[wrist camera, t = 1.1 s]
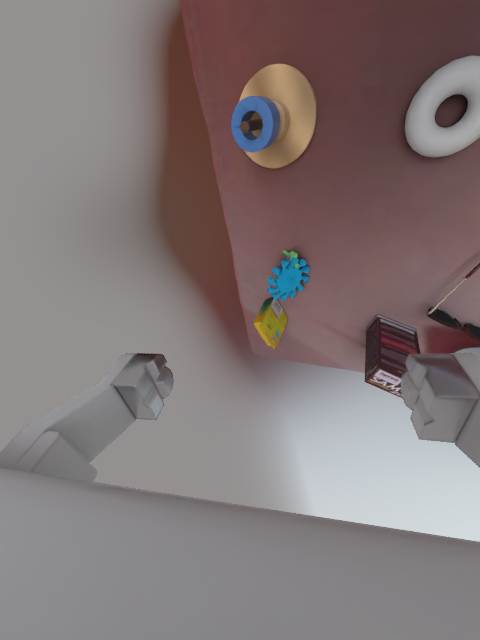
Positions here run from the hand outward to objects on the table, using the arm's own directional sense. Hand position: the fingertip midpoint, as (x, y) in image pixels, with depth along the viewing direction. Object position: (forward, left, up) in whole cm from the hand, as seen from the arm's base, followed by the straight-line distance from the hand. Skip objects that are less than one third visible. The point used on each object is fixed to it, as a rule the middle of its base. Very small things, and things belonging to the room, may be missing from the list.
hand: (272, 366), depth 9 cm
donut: (-11, +3, -45) cm, 47 cm away
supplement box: (+10, +34, -45) cm, 57 cm away
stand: (+7, -12, -45) cm, 47 cm away
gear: (+20, +11, -45) cm, 50 cm away
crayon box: (+30, +18, -45) cm, 57 cm away
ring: (+7, -12, -37) cm, 40 cm away
